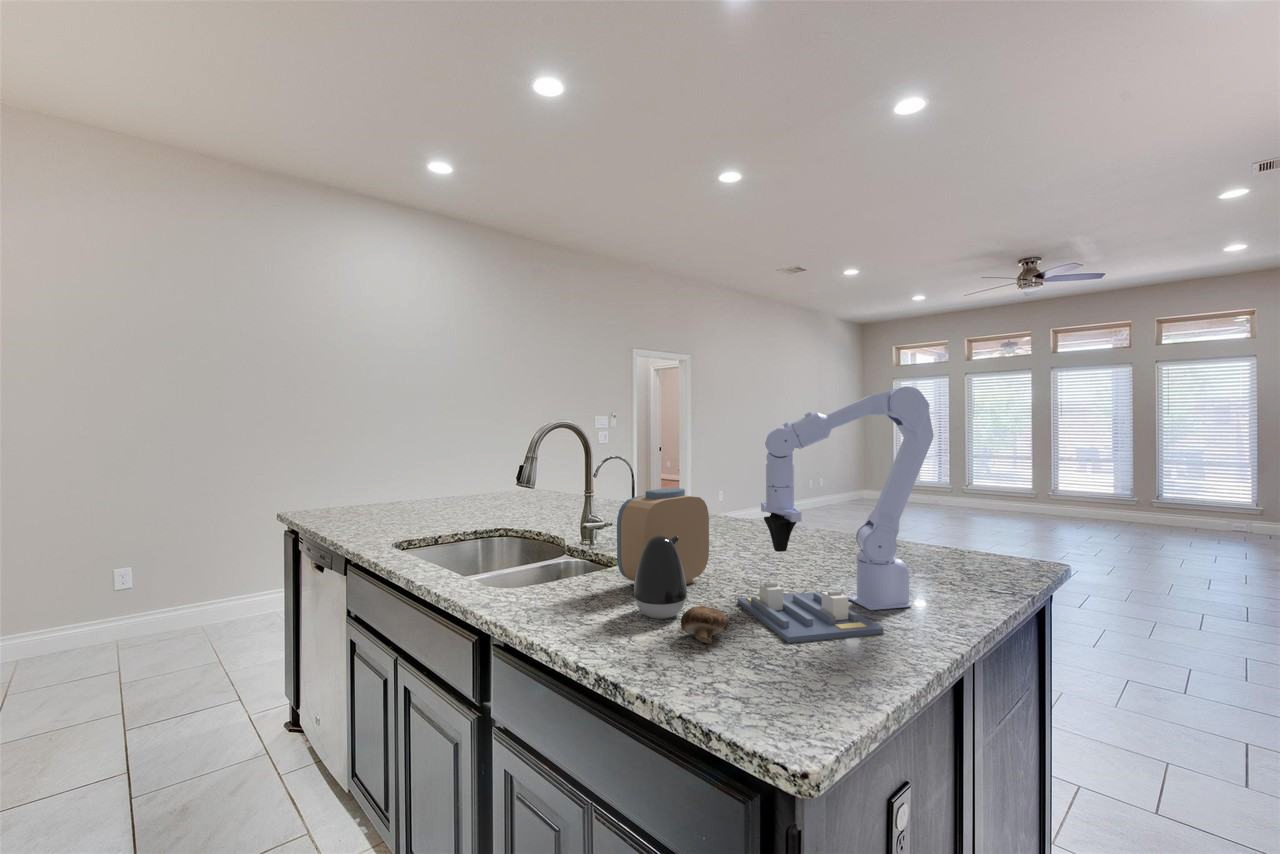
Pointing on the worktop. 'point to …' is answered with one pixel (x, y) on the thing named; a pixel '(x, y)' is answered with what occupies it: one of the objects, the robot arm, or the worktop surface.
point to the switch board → (808, 619)
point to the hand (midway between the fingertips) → (780, 550)
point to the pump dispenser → (660, 579)
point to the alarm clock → (663, 529)
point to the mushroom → (704, 623)
